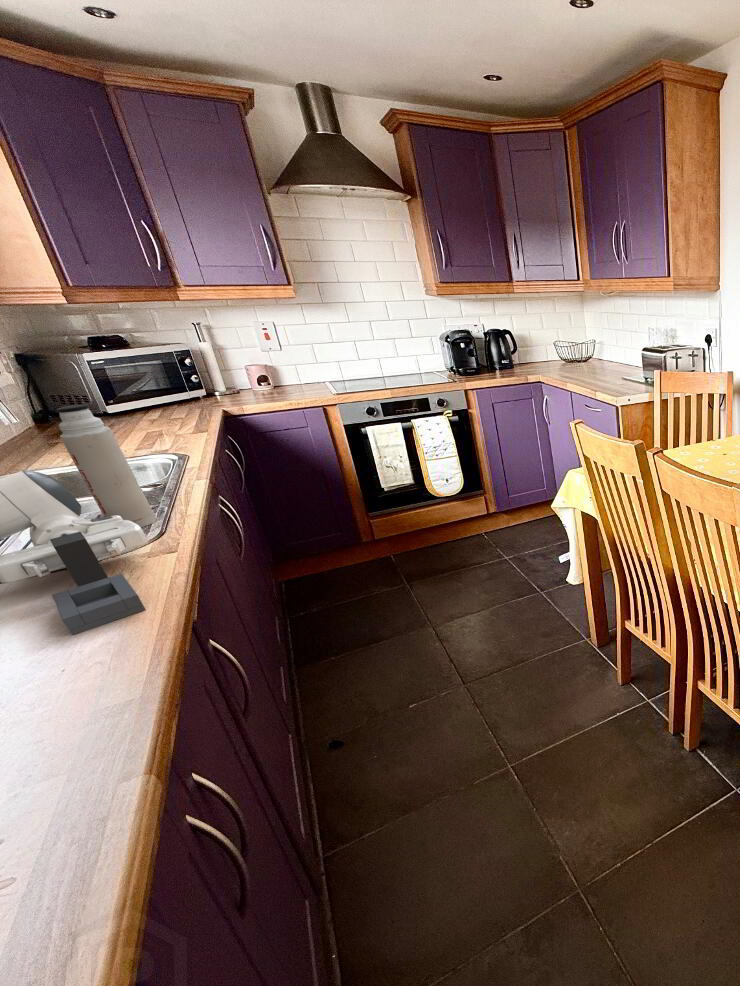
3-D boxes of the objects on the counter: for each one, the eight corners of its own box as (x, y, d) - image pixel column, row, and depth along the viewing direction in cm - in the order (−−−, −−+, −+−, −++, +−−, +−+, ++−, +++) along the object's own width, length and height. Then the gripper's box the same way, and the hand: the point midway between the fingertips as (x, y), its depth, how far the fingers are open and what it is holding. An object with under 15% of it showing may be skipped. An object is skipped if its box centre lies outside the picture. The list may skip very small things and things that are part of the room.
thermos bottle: (110, 534, 132) (41, 412, 120) (113, 525, 137) (48, 406, 125) (156, 524, 136) (94, 405, 124) (157, 515, 142) (98, 400, 130)
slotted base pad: (61, 609, 101) (51, 594, 100) (129, 587, 107) (121, 573, 106) (72, 635, 93) (62, 619, 92) (146, 609, 99) (137, 594, 98)
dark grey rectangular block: (79, 587, 108) (49, 539, 104) (108, 578, 111) (80, 531, 107) (84, 596, 105) (53, 547, 101) (113, 587, 108) (85, 538, 103)
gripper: (-21, 549, 105) (-17, 568, 97) (129, 512, 120) (143, 526, 112) (-1, 579, 108) (5, 601, 100) (143, 539, 122) (158, 555, 114)
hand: (79, 561), depth 106 cm, fingers open, 8 cm apart
